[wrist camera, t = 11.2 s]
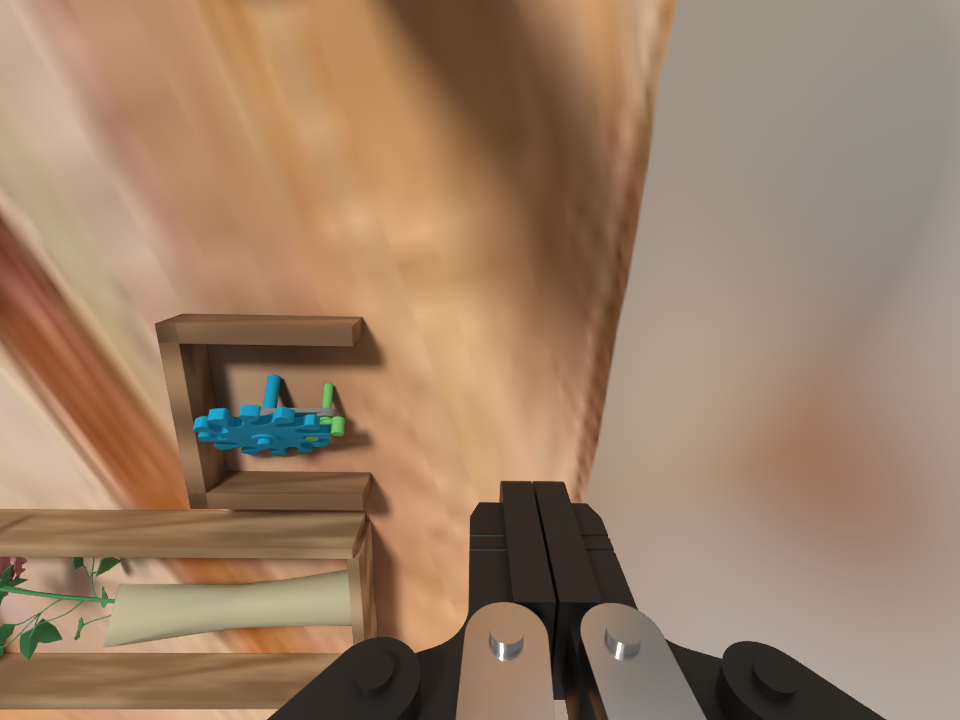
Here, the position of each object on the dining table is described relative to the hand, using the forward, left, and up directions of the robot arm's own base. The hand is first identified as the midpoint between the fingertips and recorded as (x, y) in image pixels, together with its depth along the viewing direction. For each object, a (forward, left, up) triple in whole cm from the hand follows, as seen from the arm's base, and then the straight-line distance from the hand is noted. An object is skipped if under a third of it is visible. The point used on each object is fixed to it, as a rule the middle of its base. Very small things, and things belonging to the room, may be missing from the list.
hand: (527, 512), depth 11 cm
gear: (+10, -17, -28) cm, 34 cm away
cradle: (+9, -17, -28) cm, 34 cm away
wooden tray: (+29, -31, -28) cm, 51 cm away
